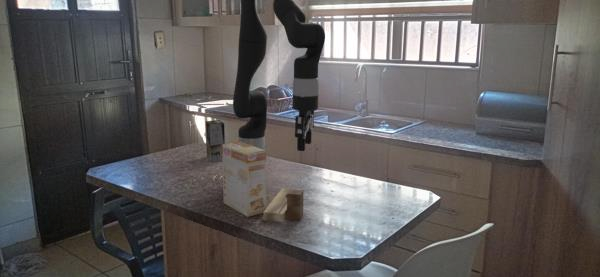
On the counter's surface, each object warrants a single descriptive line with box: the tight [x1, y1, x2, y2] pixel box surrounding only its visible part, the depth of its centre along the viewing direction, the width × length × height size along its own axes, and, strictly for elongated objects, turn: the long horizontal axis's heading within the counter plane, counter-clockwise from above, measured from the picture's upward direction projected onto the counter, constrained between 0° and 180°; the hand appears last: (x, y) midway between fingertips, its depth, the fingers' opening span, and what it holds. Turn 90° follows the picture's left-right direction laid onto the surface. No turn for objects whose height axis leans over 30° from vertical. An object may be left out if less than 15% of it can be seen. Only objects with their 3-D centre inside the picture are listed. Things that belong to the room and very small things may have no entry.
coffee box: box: [205, 119, 226, 163], centre depth 203 cm, size 9×6×16 cm
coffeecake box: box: [221, 141, 267, 218], centre depth 148 cm, size 15×7×20 cm, turn 37°
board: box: [262, 187, 300, 223], centre depth 150 cm, size 6×22×3 cm, turn 168°
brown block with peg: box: [285, 188, 304, 222], centre depth 141 cm, size 5×4×8 cm
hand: (304, 147), depth 144 cm, fingers open, 8 cm apart
